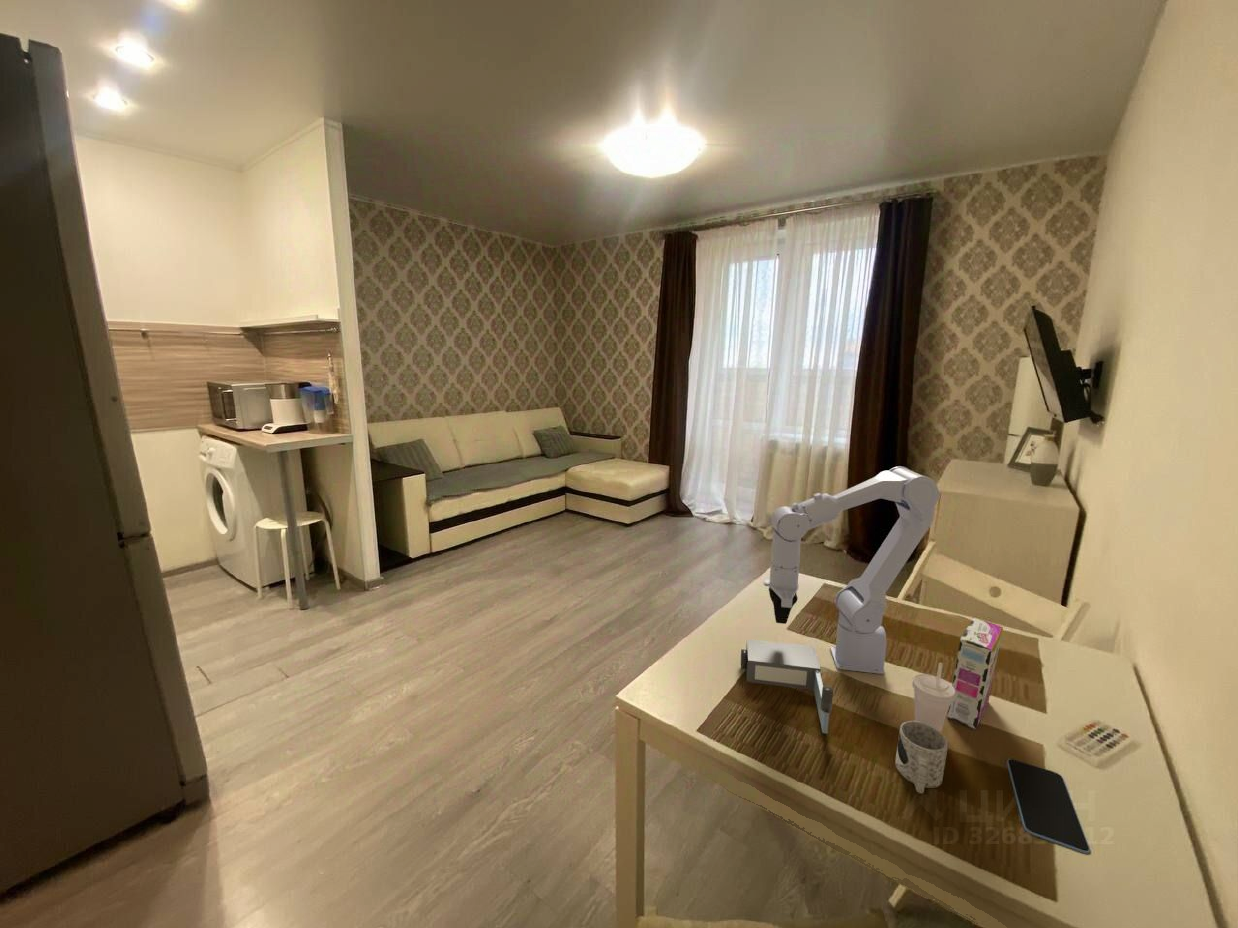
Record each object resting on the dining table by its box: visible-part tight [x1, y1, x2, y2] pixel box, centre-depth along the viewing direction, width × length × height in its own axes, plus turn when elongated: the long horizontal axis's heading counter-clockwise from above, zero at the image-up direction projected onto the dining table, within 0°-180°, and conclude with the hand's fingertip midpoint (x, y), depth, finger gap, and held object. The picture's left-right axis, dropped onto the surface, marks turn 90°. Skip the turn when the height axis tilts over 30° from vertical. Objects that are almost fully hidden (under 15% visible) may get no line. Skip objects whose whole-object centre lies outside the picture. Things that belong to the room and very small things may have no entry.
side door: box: [813, 670, 834, 734], centre depth 94 cm, size 12×2×8 cm, turn 166°
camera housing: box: [740, 638, 821, 691], centre depth 105 cm, size 15×8×5 cm, turn 78°
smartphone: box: [1006, 758, 1091, 854], centre depth 75 cm, size 7×1×15 cm
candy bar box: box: [946, 617, 1004, 730], centre depth 93 cm, size 11×5×16 cm, turn 135°
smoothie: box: [911, 662, 955, 733], centre depth 88 cm, size 6×6×14 cm
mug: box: [895, 720, 949, 794], centre depth 79 cm, size 10×7×7 cm
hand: (780, 621), depth 108 cm, fingers closed
